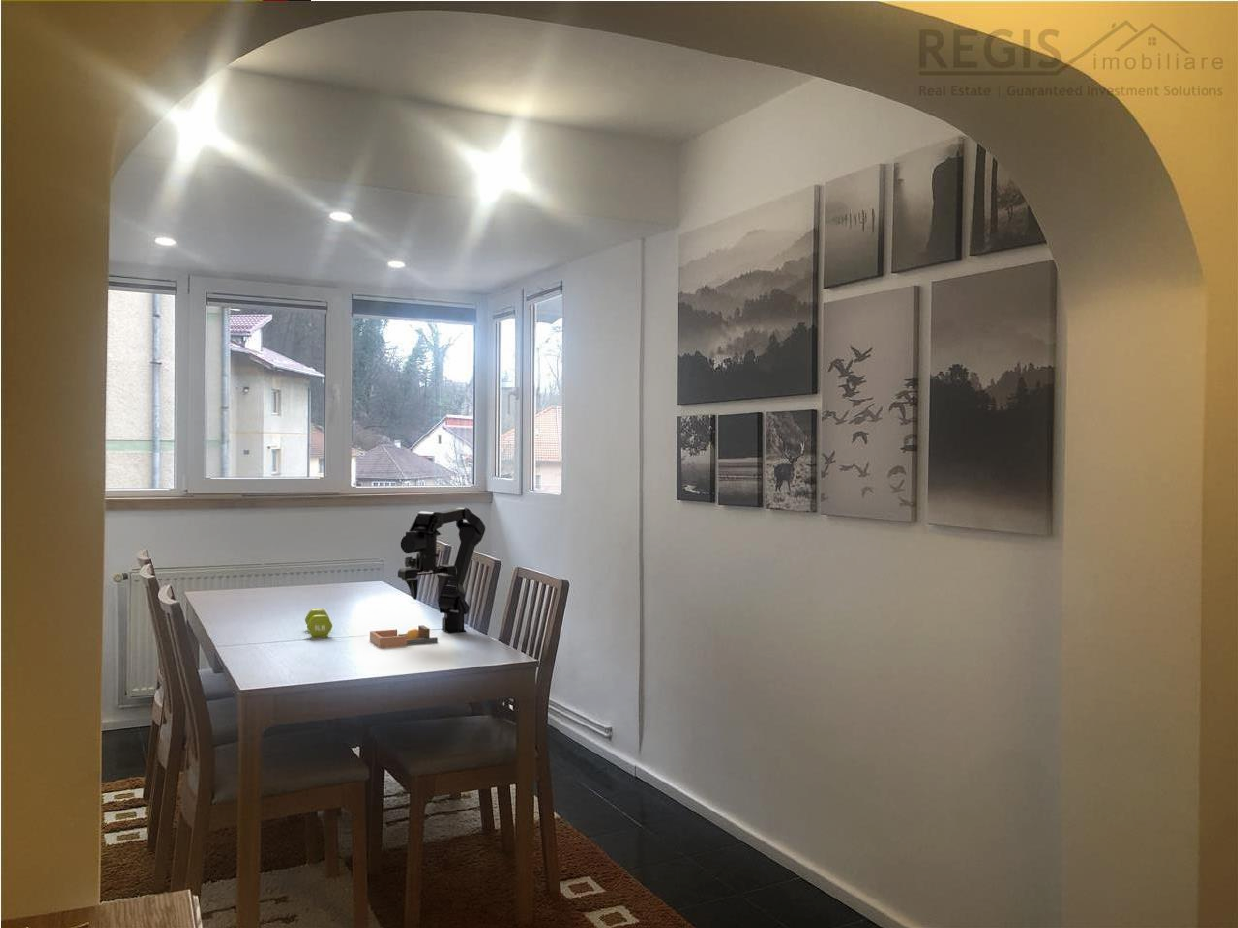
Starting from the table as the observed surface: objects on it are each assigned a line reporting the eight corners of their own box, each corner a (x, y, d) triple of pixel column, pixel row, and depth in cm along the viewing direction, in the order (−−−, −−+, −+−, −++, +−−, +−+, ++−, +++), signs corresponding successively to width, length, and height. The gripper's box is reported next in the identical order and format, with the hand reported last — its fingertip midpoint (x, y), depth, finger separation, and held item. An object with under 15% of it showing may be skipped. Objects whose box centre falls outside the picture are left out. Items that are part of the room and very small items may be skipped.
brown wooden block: (422, 637, 307) (423, 625, 307) (429, 641, 301) (429, 628, 301) (418, 637, 306) (418, 625, 306) (424, 641, 300) (424, 629, 300)
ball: (417, 639, 304) (417, 627, 304) (421, 641, 301) (421, 629, 301) (405, 640, 302) (405, 628, 302) (408, 642, 299) (408, 630, 299)
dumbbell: (332, 637, 305) (332, 615, 305) (306, 638, 302) (306, 616, 302) (329, 628, 321) (329, 607, 321) (304, 629, 318) (304, 608, 318)
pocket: (396, 638, 305) (396, 629, 305) (407, 645, 295) (407, 635, 295) (369, 640, 301) (370, 631, 301) (379, 647, 290) (380, 638, 290)
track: (427, 636, 309) (428, 632, 309) (437, 642, 300) (437, 637, 300) (397, 639, 304) (397, 634, 304) (406, 644, 296) (406, 640, 296)
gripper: (440, 546, 318) (440, 592, 319) (389, 549, 306) (389, 597, 306) (457, 549, 310) (457, 596, 310) (406, 553, 298) (405, 602, 298)
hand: (427, 598), depth 306 cm, fingers open, 9 cm apart
